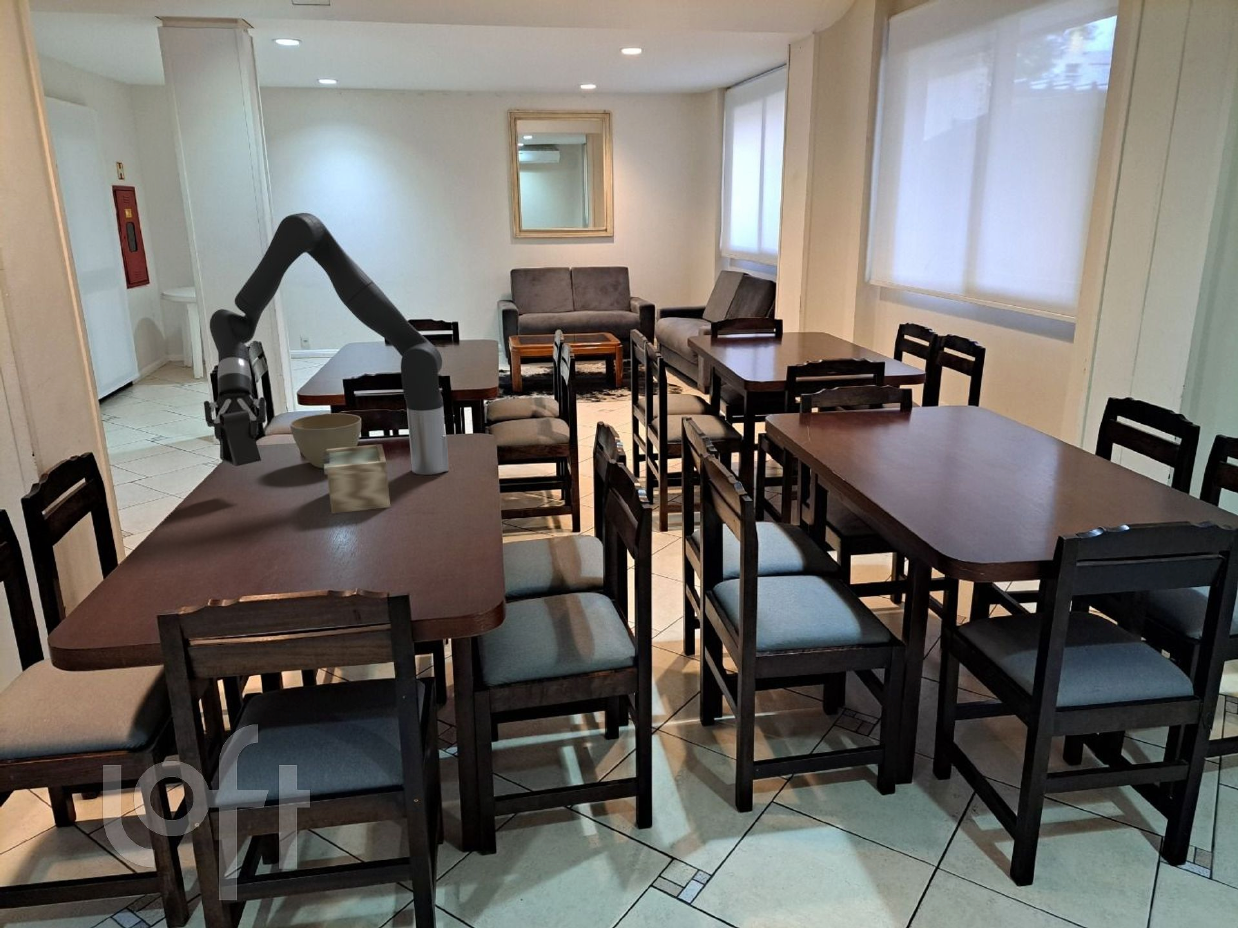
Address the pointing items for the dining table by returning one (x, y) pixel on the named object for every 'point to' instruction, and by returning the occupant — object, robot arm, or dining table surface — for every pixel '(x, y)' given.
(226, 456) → the phone stand
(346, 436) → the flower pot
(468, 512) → the dining table surface
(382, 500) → the bread box
